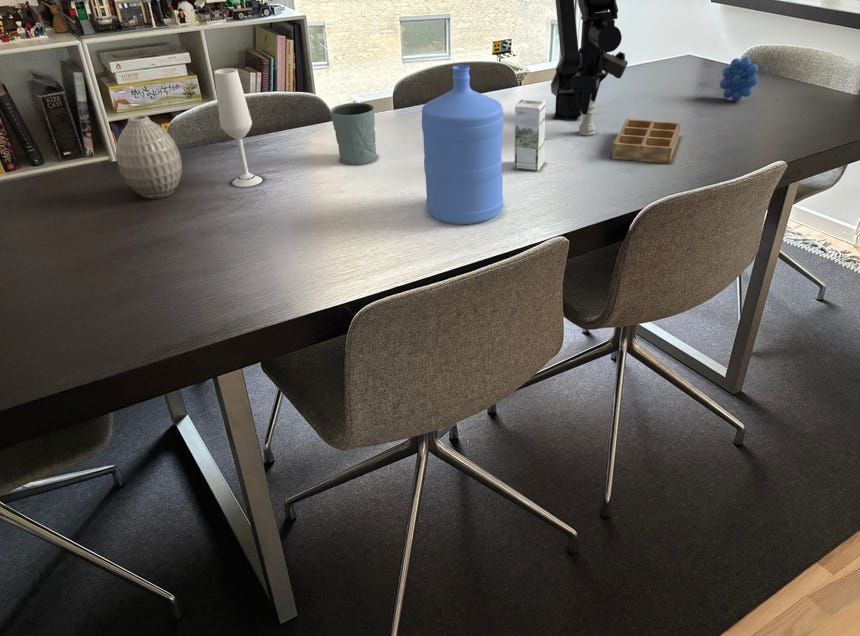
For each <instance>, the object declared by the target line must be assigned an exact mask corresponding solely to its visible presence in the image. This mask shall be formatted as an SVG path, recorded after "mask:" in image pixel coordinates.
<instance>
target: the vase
mask: <svg viewBox="0 0 860 636" xmlns="http://www.w3.org/2000/svg"><path fill="white" fill-rule="evenodd" d="M115 157H116V163H117V168H118V170H119V173H120V175H121V176H122V178H123V180H124V181H125V183H126V184H127V185H128V186H129V187H130V189H132V190H133V191H134V192H135V193H137V194H138V193H139V194H138V195H140V194H143V195H157V194H164V193H167V192H169V191H172V190H173V189H175V188H176V189H177V188H178V186H179V183H180V181H181V177H182V174H183V161H182V155H181V153H180V150H179V147H178V145H177V143H176V141H175V140H174V139H173V137H172V136H171V134H169V132H167V130H165V128H163V127H162V126H161V125H159V124H157V123H156V122H154V121H152V120H151V119H150V117H149V116H148V115H144V114H138V115H133V116H131V117H129V118H128V119H127V124H126V125H125V126H124V128H123V129H122V130H121V132H120V134H119V136H118V139H117V142H116V147H115ZM176 189H175V190H174V191H172V192H170V193H168V194H165V195H161V196H153V197H148V196H142V195H140V196H141V197H143V198H145V199H148V200H160V199H165V198H167V197H170V196H171V195H173V194H174V192H175V191H176Z"/></svg>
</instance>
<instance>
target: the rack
mask: <svg viewBox="0 0 860 636" xmlns="http://www.w3.org/2000/svg"><path fill="white" fill-rule="evenodd" d="M681 125H682V123H681V122H672V121H659V120H647V119H631V118H626V119H625V121H624V123H623V125H622V127H621V128H620V130H619V132H618V134H617V136H616V137H615V139H614V141H613V143H612V148H611V149H612V151H611V159H615V160H625V161H637V162H648V163H657V164H658V163H659V164H671V162H672V159H673V156H674V153H675V149H676V147H677V144H678V142H679V138H680V132H681Z"/></svg>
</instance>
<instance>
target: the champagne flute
mask: <svg viewBox="0 0 860 636" xmlns="http://www.w3.org/2000/svg"><path fill="white" fill-rule="evenodd" d="M238 71H239V70H238V69H237V68H233V67H231V68H230V67H227V68H219V69H216V70H214V71H213V75H214V83H215V92H216V101H217V109H218V119H219V126H220V129H222V131H223V132H224V133H225V134H227V135H228V136H229V137H231V138H232V139H235V140H236V144H237V150H238V156H239V160H240V165H241V169H242V174H240V175H239V176H238V177H240V178H243V179H247V178H251V177H253V176H254V175H255V174H253V173H250V172H249V169H248V164H247V158H246V153H245V147H244V142H243V139H244V138H245V137H246V136H247V134H248V133H249V131H250V130H251V128H252V125H253V121H252V117H251V114H250V111H249V107H248V102H247V100H246V95H245V92H244V89H243V85H242V81H241V78H240V75H239V72H238ZM238 177H236V178H235V179H234V180H233V181H232V183H231V184H232V185H233V186H235V187H240V188H246V187H252V186H256V185H259V184H261V183H262V182H263V178H262V177H260V176H258V175H255V177H254V178H253V179H250V180H239V179H238Z"/></svg>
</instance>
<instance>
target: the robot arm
mask: <svg viewBox="0 0 860 636" xmlns="http://www.w3.org/2000/svg"><path fill="white" fill-rule="evenodd" d="M554 1H555V10H556V11H555V12H556V20H557V30H558V40H559V41H558V42H559V50H560V51H559V52H560V58H559V60H558V63H557V64H556V66H555V67H556V68H555V75H554V77H553V79H552V80H551V83H550V92H551V93H552V94H553V95H554V96H555V110H554V111H555V112H554V115H553V119H554V120H555V119H556V120H566V121H578V119H579V118H580V117H581V116H582V115H587V113H588V109H589V104H590V100H591V101H594V104H596V100H597V96H598V92H599V89H600V86H601V83H602V82H603V80H604V79H606V78H607V77H608V75H612V76H613V77H614V78H616V79H622V76H623V75H624V73H625V71H626V68H627V66H628V60H627V59H626V53H625V52H622V51H619V52H617V53H616V54H610V53H611V52H614V51H615V50H617V49H618V48H619V46H620V45H621V42H622V38H623V35H622V32H621V30H620V29H619V28H618V27H617V26H616V25H615V24H616V21H615V20H618V18H619V17H618V12H619V8H618V4H617V0H577V5H578V8H579V11H580V14H581V16H580V20H582V21H581V37H580V48H579V38H578V30H577V29H578V28H577V20H576V19H577V18H576V17H577V16H576V8H575V0H554Z"/></svg>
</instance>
